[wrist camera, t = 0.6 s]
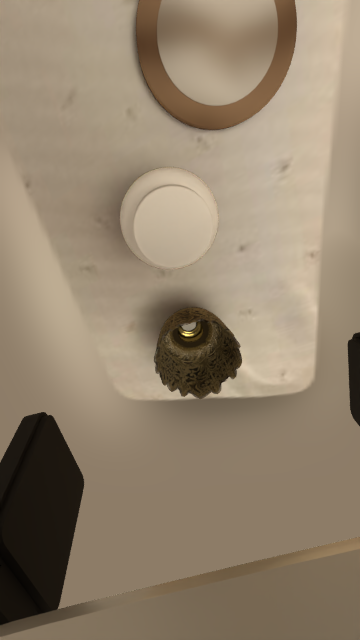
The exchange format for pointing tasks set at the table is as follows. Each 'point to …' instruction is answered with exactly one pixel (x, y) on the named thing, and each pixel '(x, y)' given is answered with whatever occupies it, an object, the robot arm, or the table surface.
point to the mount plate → (215, 56)
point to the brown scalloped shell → (196, 353)
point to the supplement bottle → (169, 218)
